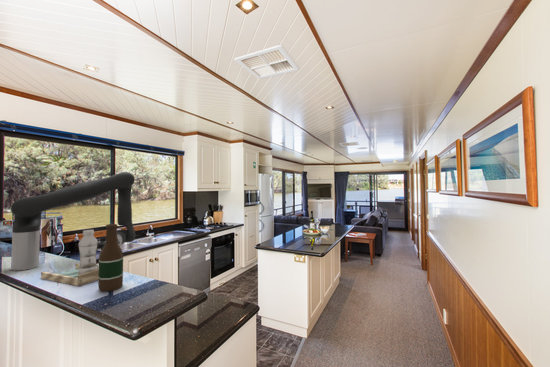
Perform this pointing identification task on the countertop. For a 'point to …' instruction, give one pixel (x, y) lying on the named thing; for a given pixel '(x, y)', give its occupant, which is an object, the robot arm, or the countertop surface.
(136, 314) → the countertop surface
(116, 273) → the beer bottle
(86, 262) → the plastic bottle
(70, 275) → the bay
